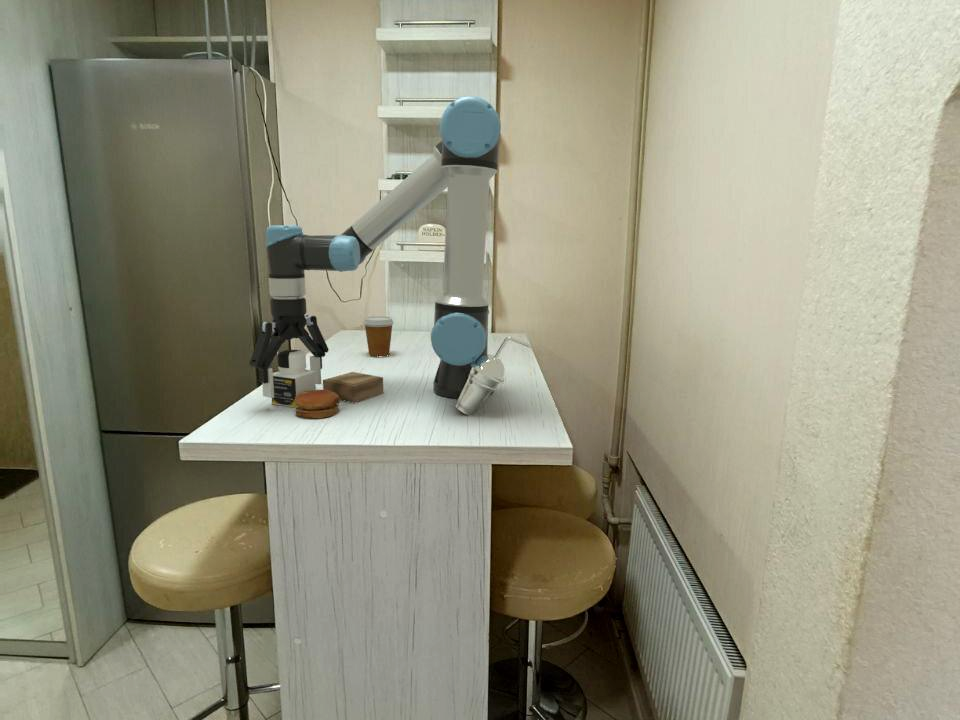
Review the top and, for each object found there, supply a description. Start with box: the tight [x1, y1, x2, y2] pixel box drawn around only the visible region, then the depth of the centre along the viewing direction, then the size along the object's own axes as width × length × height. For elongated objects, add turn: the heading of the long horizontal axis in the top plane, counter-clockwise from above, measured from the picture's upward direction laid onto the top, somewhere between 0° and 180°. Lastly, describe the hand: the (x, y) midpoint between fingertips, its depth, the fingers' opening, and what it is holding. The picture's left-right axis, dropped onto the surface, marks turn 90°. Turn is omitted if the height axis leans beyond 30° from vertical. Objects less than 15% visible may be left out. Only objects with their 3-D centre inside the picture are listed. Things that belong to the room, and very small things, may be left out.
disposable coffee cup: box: [362, 315, 395, 358], centre depth 178 cm, size 10×10×12 cm
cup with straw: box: [454, 336, 532, 417], centre depth 121 cm, size 8×9×20 cm
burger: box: [295, 389, 341, 419], centre depth 121 cm, size 10×9×5 cm
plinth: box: [322, 371, 384, 404], centre depth 134 cm, size 10×10×4 cm
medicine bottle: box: [271, 349, 317, 409], centre depth 127 cm, size 7×7×12 cm
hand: (293, 389), depth 127 cm, fingers open, 13 cm apart
